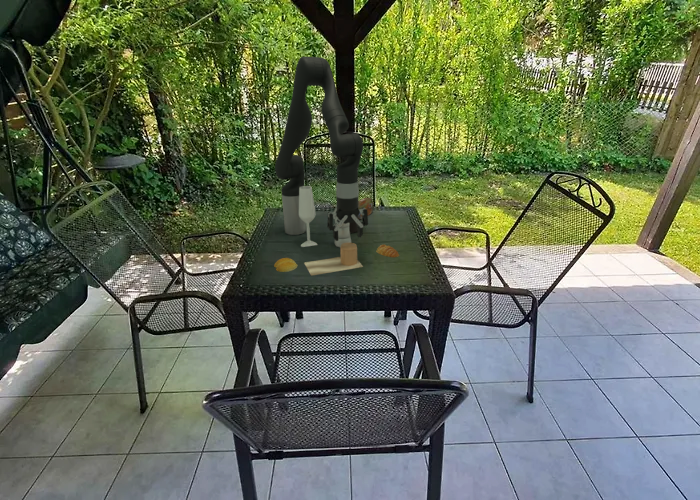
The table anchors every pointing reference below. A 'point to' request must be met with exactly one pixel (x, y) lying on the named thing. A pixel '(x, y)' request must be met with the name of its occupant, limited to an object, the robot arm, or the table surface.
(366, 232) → the table surface
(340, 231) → the plastic bottle
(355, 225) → the vinegar
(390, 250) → the pastry
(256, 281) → the table surface
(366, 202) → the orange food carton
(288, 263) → the bread roll
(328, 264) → the board
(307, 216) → the champagne flute
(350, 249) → the cap
